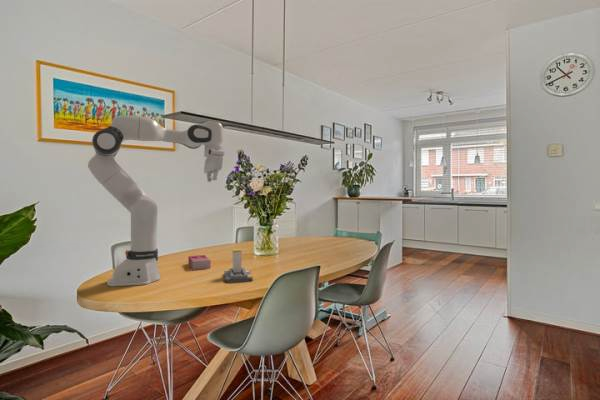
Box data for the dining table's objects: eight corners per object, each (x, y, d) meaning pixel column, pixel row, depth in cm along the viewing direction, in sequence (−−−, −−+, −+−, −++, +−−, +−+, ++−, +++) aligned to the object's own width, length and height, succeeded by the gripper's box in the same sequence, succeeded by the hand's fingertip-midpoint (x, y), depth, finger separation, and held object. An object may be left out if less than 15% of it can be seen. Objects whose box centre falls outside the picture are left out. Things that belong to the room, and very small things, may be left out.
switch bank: (226, 282, 161) (226, 276, 161) (224, 273, 177) (224, 268, 177) (252, 280, 164) (252, 275, 164) (248, 272, 180) (248, 267, 180)
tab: (233, 272, 172) (233, 250, 172) (232, 270, 176) (232, 249, 176) (241, 272, 173) (241, 250, 173) (240, 270, 177) (240, 248, 177)
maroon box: (203, 253, 206) (210, 260, 188) (203, 261, 207) (210, 268, 189) (187, 254, 202) (192, 261, 184) (187, 262, 203) (192, 270, 185)
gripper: (201, 155, 185) (200, 181, 184) (212, 149, 167) (210, 178, 166) (213, 157, 188) (212, 182, 187) (225, 151, 170) (224, 179, 169)
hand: (211, 180), depth 176 cm, fingers open, 8 cm apart
